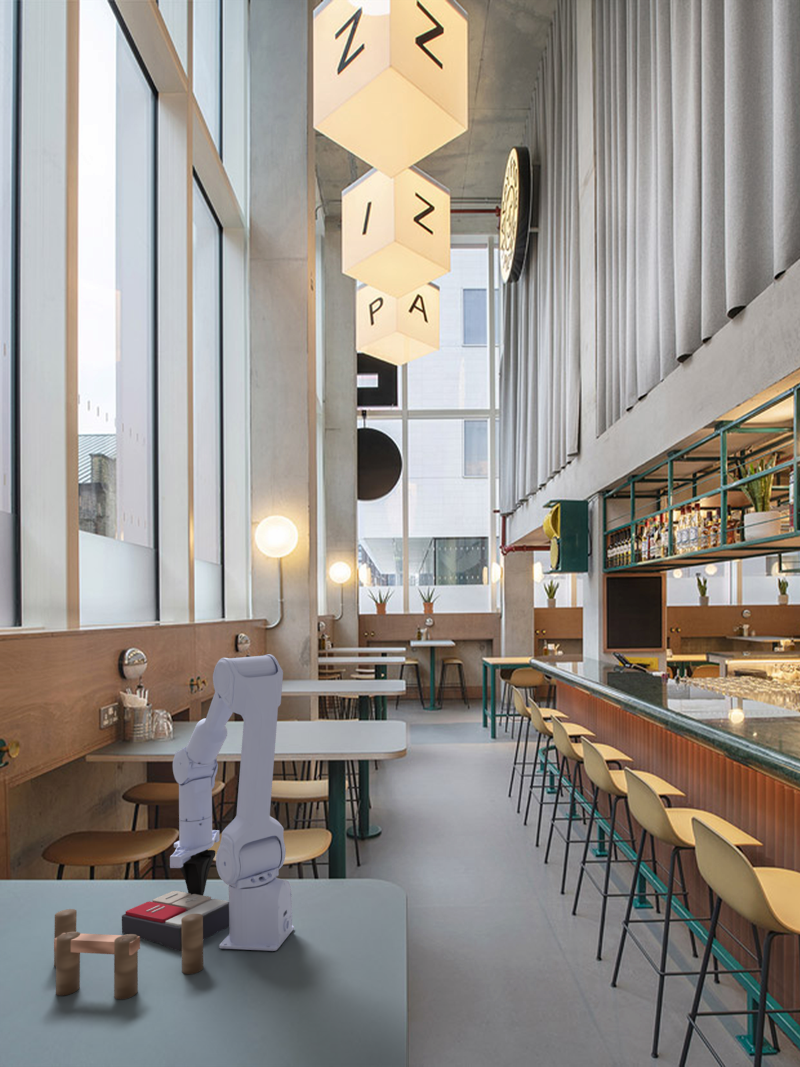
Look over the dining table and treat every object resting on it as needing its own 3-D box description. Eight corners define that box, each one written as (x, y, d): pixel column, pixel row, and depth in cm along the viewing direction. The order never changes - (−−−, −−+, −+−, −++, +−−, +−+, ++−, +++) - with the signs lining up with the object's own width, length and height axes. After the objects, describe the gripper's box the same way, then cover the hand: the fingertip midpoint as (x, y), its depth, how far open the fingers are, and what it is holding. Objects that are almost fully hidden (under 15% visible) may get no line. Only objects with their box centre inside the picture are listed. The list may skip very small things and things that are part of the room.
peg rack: (207, 964, 101) (206, 913, 102) (170, 1002, 91) (169, 946, 92) (63, 956, 106) (63, 908, 107) (13, 992, 96) (14, 939, 97)
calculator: (174, 887, 124) (232, 897, 116) (175, 913, 123) (234, 925, 115) (120, 910, 115) (179, 923, 107) (120, 938, 114) (180, 953, 106)
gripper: (195, 805, 133) (195, 880, 131) (153, 828, 118) (153, 912, 117) (229, 806, 131) (230, 881, 129) (191, 829, 117) (192, 914, 115)
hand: (196, 896), depth 123 cm, fingers closed
